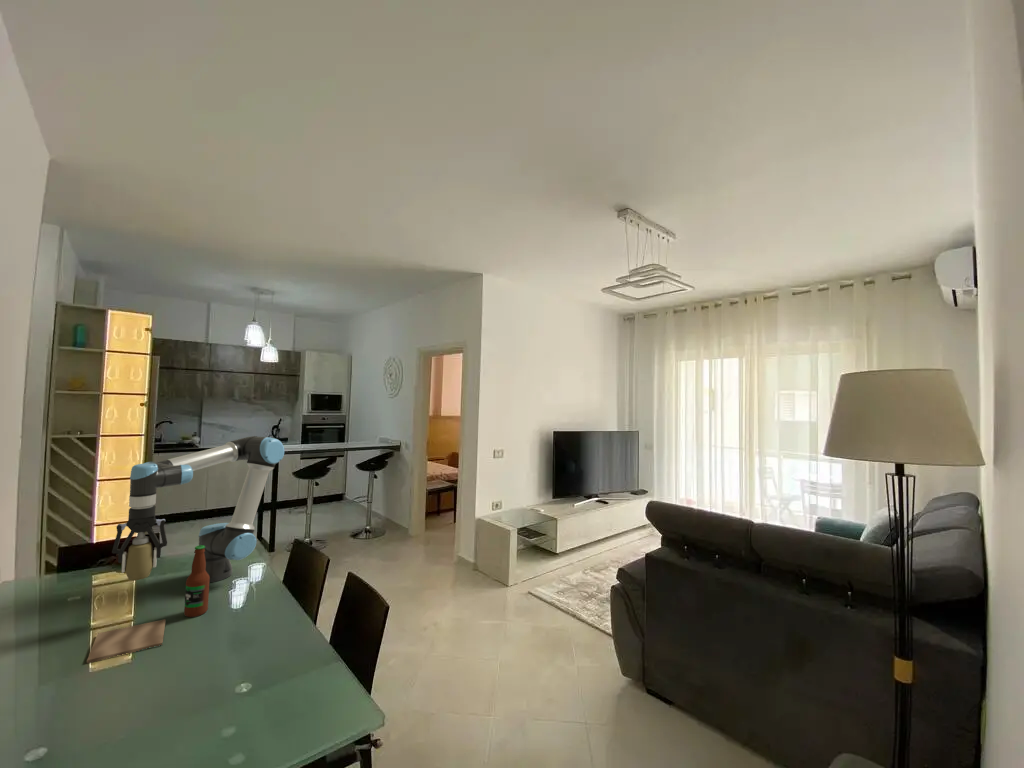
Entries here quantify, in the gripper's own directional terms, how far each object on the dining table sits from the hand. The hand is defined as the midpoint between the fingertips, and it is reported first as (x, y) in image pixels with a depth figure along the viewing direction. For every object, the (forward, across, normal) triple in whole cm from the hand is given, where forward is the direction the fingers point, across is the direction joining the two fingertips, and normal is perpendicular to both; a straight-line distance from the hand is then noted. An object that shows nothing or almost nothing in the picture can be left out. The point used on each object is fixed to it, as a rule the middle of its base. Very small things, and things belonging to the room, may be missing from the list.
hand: (139, 568), depth 160 cm
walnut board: (+18, 0, +17) cm, 25 cm away
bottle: (+18, -18, +6) cm, 26 cm away
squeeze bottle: (+3, 0, 0) cm, 3 cm away
